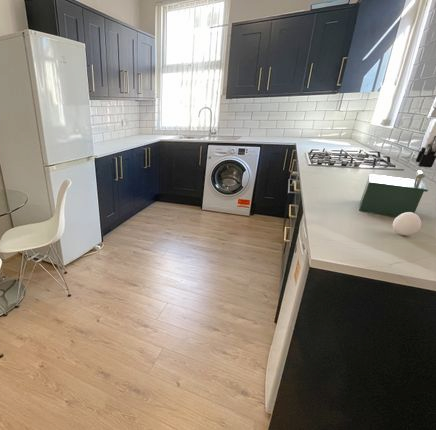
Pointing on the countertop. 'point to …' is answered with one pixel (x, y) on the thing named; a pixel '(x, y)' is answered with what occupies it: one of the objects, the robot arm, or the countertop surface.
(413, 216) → the egg
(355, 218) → the countertop surface
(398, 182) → the bin lid
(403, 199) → the bin
